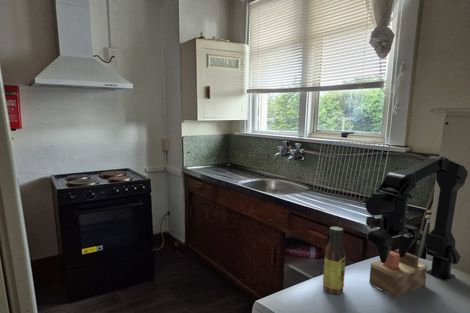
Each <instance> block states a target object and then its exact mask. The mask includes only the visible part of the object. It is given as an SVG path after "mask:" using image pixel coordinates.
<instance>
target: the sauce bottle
mask: <svg viewBox="0 0 470 313" xmlns="http://www.w3.org/2000/svg"><path fill="white" fill-rule="evenodd" d="M343 235H344V228H342V227H340V226H330V227H329V242H328V244H327V245H326V246H325V249H324V258H323V260H324V262H323V273H322V275H323V277H322V284H323V285H322V286H323V287H322V288H323V289H324V291H325V292H327V293H329V294H332V295H340V294H342V293H343V292H344V287H345V273H346V271H345V270H346V251H345V247H344V245H343Z"/></svg>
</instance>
